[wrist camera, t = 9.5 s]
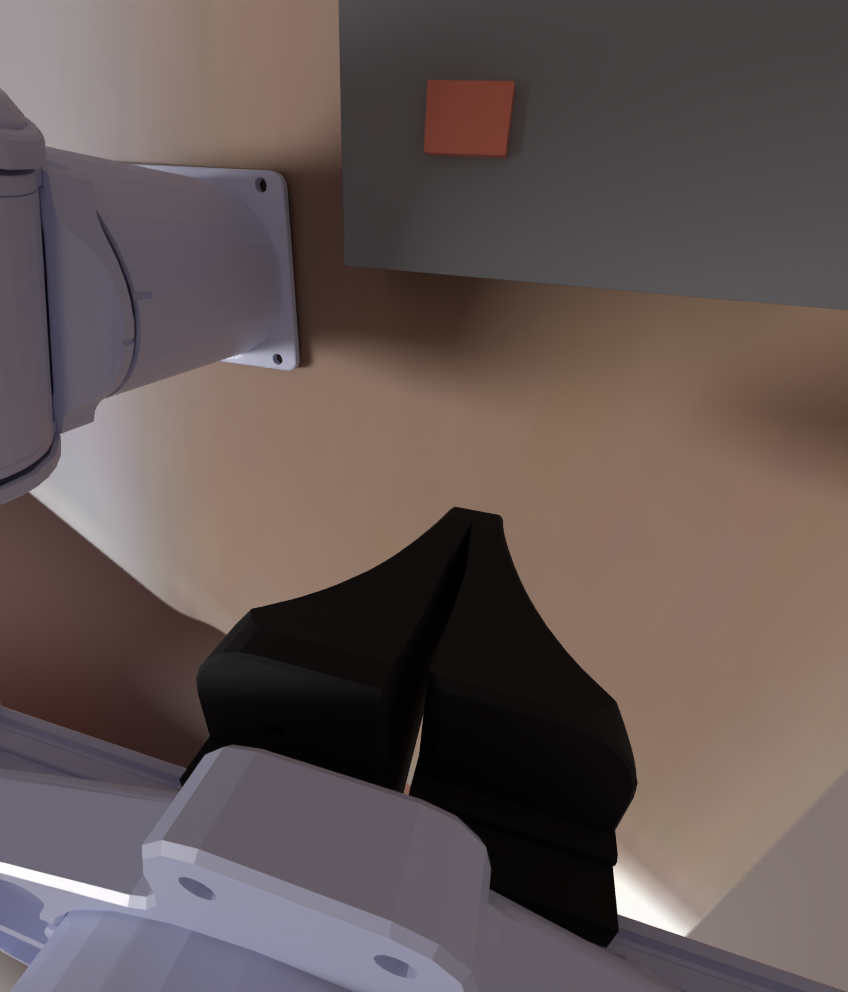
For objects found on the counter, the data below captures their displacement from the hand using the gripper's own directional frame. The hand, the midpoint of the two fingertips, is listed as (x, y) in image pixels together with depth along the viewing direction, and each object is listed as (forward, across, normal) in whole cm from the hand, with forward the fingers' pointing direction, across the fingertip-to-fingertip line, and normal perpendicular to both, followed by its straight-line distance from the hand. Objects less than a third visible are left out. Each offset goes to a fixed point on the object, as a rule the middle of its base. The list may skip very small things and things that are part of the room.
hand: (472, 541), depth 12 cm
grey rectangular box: (+10, -2, -10) cm, 15 cm away
